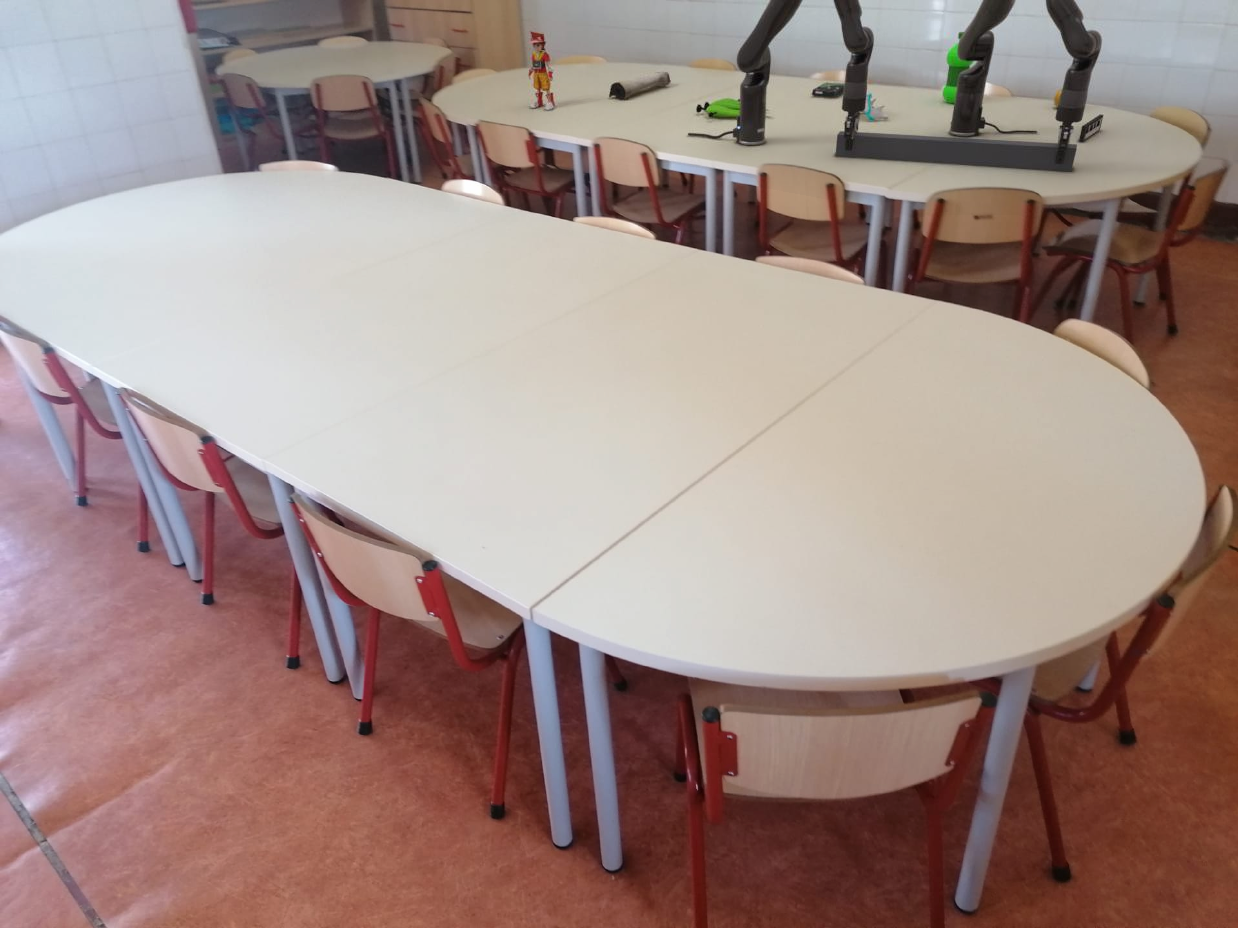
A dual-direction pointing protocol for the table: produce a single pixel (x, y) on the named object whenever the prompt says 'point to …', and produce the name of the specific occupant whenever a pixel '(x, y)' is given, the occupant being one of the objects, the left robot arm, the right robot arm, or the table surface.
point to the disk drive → (829, 90)
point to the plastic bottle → (954, 72)
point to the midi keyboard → (1091, 127)
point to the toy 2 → (722, 108)
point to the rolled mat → (638, 84)
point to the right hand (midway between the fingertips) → (1059, 160)
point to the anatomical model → (873, 109)
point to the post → (957, 151)
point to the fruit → (1057, 97)
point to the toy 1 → (541, 71)
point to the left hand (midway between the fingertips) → (849, 147)
